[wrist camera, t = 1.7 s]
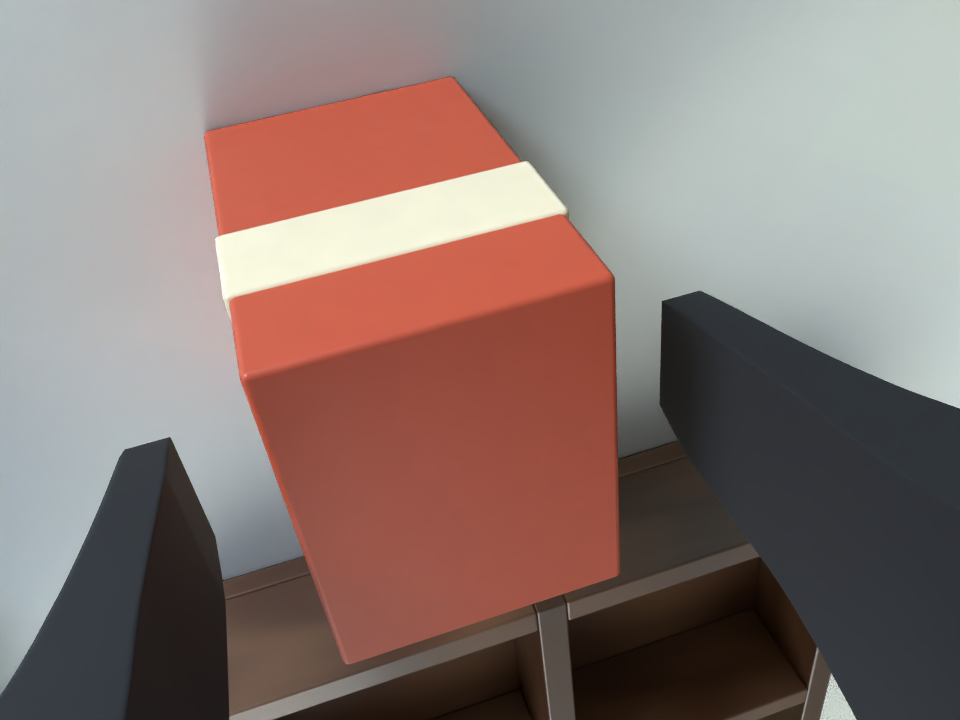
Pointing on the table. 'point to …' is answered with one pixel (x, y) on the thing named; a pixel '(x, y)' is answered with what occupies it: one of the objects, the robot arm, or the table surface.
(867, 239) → the table surface
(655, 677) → the organiser
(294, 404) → the red cream striped block
